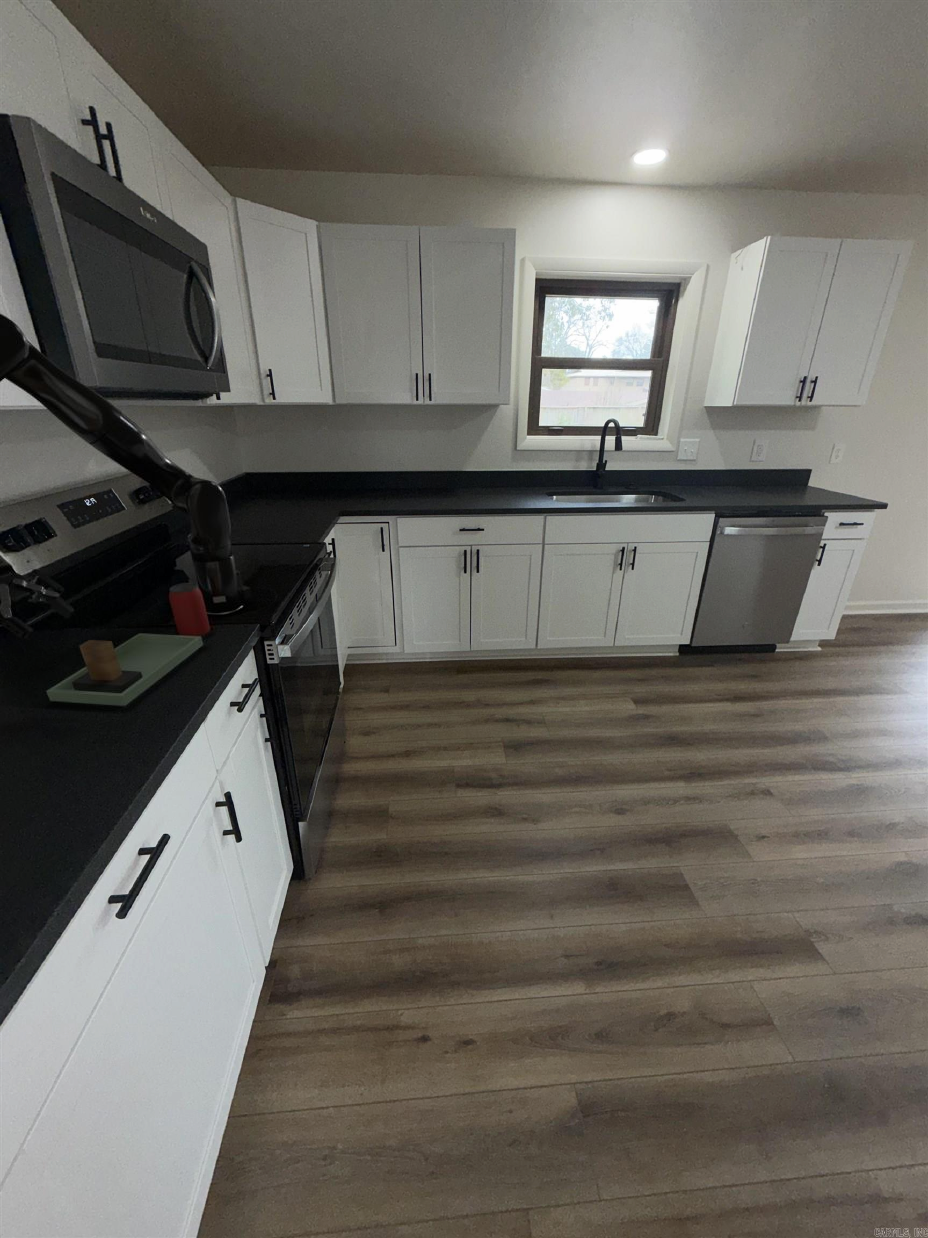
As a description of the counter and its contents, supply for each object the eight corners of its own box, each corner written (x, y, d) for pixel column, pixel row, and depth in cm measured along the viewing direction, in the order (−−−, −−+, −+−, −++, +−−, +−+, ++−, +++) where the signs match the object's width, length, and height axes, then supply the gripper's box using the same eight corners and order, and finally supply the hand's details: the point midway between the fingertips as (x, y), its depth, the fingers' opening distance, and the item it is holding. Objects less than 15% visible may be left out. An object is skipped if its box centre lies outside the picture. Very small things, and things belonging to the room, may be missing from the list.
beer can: (198, 642, 112) (186, 593, 107) (173, 640, 113) (159, 591, 108) (217, 630, 117) (206, 582, 113) (192, 627, 119) (181, 580, 114)
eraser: (75, 691, 92) (58, 648, 88) (96, 677, 96) (81, 636, 92) (125, 694, 91) (110, 651, 87) (144, 680, 95) (130, 638, 91)
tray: (142, 645, 111) (139, 633, 109) (204, 648, 109) (201, 636, 108) (51, 705, 89) (45, 691, 88) (126, 710, 88) (121, 696, 87)
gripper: (-70, 560, 77) (23, 629, 81) (14, 536, 90) (92, 597, 94) (-85, 590, 80) (6, 656, 84) (-1, 563, 93) (75, 621, 97)
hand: (51, 624), depth 89 cm, fingers open, 8 cm apart
